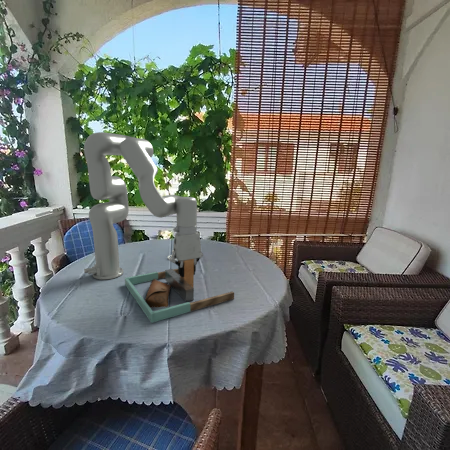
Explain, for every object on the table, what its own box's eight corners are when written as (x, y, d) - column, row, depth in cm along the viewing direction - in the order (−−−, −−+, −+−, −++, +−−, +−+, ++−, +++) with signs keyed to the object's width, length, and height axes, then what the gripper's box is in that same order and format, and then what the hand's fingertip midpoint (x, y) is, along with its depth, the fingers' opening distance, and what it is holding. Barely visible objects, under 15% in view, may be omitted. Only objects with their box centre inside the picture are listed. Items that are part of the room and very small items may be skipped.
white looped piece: (176, 254, 156) (176, 247, 155) (187, 257, 152) (187, 250, 151) (164, 258, 149) (164, 251, 149) (175, 261, 145) (174, 254, 144)
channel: (190, 311, 97) (190, 304, 97) (157, 278, 124) (157, 272, 123) (234, 298, 107) (234, 292, 106) (194, 270, 133) (194, 265, 133)
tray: (151, 322, 90) (151, 314, 89) (125, 284, 116) (124, 277, 116) (190, 311, 97) (190, 303, 96) (157, 278, 124) (157, 271, 123)
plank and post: (186, 301, 103) (186, 265, 100) (165, 280, 120) (165, 248, 116) (203, 297, 107) (203, 262, 104) (180, 276, 123) (180, 246, 120)
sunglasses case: (169, 306, 100) (158, 291, 98) (151, 316, 100) (141, 302, 98) (172, 284, 117) (163, 271, 115) (157, 293, 117) (148, 280, 115)
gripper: (169, 234, 101) (170, 282, 105) (210, 229, 110) (210, 274, 114) (162, 230, 107) (163, 275, 111) (201, 225, 116) (201, 267, 120)
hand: (187, 274), depth 113 cm, fingers closed on plank and post, 4 cm apart
